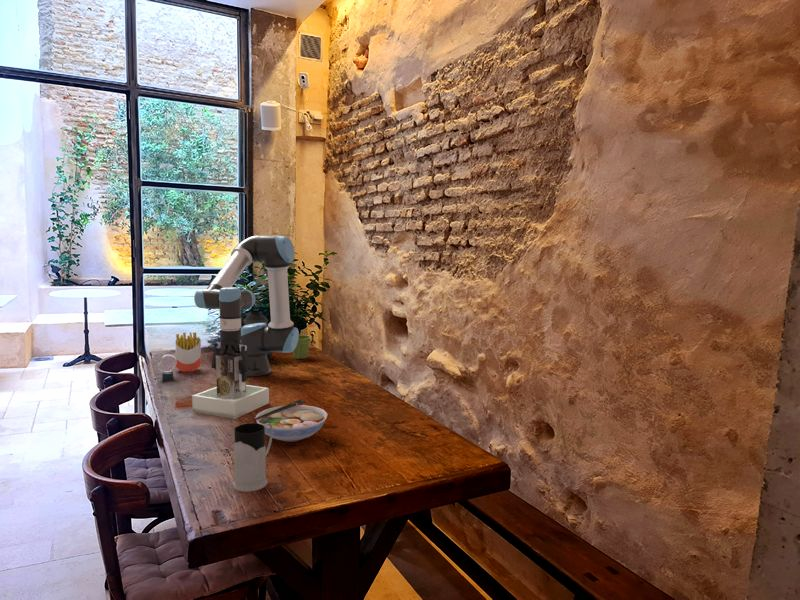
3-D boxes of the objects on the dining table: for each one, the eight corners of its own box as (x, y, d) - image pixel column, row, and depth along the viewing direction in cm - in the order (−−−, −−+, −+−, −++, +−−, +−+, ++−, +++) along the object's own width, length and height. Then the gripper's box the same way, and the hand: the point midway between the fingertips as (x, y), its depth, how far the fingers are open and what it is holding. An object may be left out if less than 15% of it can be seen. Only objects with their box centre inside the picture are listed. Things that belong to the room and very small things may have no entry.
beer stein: (268, 362, 274) (267, 313, 271) (230, 361, 274) (229, 313, 271) (275, 355, 291) (275, 309, 288) (240, 354, 291) (239, 308, 288)
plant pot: (293, 354, 292) (293, 334, 291) (314, 355, 291) (314, 335, 290) (285, 359, 281) (285, 338, 280) (307, 360, 279) (307, 339, 278)
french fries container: (200, 371, 253) (199, 333, 251) (175, 372, 251) (174, 334, 248) (201, 368, 258) (200, 332, 256) (177, 369, 255) (176, 332, 253)
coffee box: (246, 396, 201) (246, 353, 200) (235, 400, 196) (234, 357, 194) (228, 392, 205) (227, 351, 203) (215, 397, 199) (215, 354, 198)
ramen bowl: (290, 459, 155) (290, 432, 154) (236, 442, 167) (236, 416, 166) (344, 433, 176) (344, 409, 175) (292, 420, 188) (292, 397, 187)
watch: (157, 378, 239) (156, 354, 238) (177, 376, 242) (176, 353, 241) (157, 381, 234) (156, 356, 233) (177, 379, 237) (176, 355, 236)
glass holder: (225, 487, 137) (224, 431, 135) (258, 466, 150) (258, 414, 148) (254, 494, 134) (253, 436, 132) (285, 471, 147) (285, 418, 145)
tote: (192, 411, 195) (192, 395, 194) (229, 396, 214) (228, 382, 213) (235, 418, 188) (234, 402, 188) (268, 403, 207) (268, 388, 206)
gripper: (199, 328, 198) (201, 387, 201) (248, 333, 190) (249, 394, 193) (213, 325, 205) (215, 382, 208) (261, 330, 197) (262, 389, 200)
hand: (231, 388), depth 200 cm, fingers closed on coffee box, 9 cm apart
